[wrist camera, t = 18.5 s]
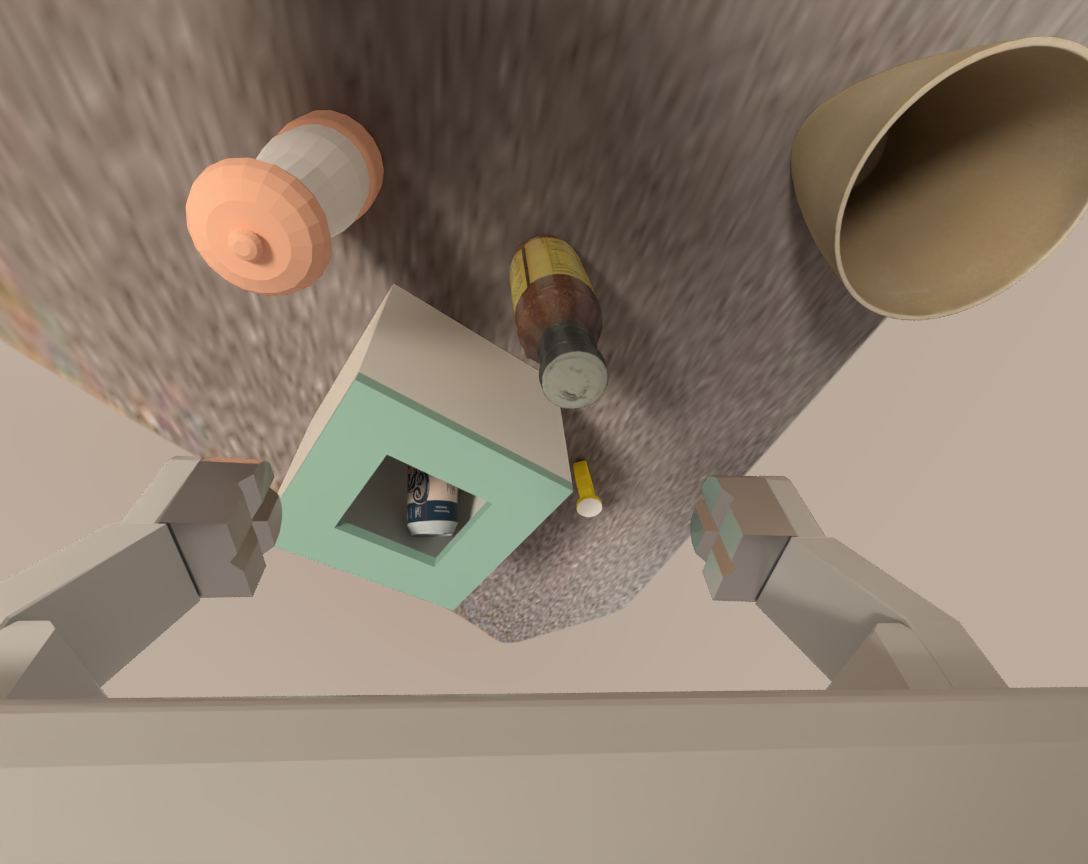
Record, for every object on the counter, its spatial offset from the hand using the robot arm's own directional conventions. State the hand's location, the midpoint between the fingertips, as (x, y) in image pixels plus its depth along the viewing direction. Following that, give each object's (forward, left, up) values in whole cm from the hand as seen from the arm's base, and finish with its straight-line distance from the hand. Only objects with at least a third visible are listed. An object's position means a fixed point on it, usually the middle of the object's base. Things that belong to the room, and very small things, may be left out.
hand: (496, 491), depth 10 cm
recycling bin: (+8, -24, -39) cm, 47 cm away
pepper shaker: (-9, -9, -39) cm, 41 cm away
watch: (+27, -23, -39) cm, 53 cm away
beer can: (+8, -24, -38) cm, 46 cm away
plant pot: (+22, +15, -39) cm, 48 cm away
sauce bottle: (+9, -6, -39) cm, 41 cm away
